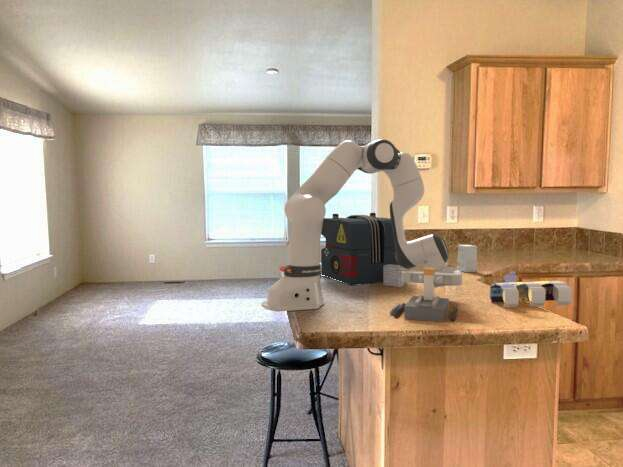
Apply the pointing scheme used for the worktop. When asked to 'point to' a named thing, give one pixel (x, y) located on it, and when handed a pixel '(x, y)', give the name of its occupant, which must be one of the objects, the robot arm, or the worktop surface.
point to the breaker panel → (427, 308)
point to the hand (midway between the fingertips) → (428, 281)
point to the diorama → (530, 292)
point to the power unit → (357, 248)
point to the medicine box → (392, 275)
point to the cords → (397, 310)
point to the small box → (467, 258)
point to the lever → (429, 283)
